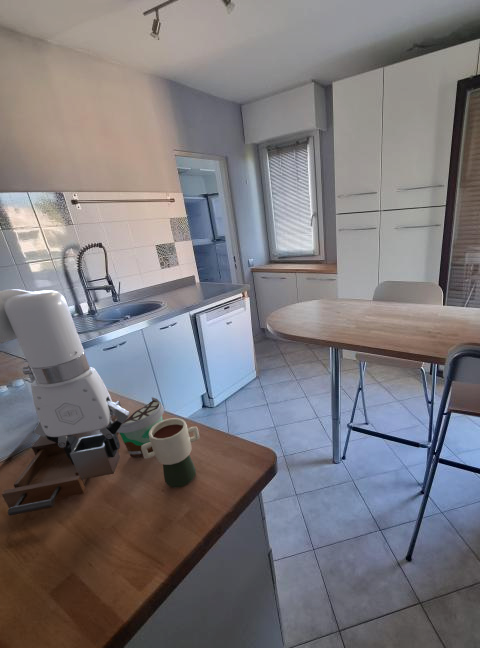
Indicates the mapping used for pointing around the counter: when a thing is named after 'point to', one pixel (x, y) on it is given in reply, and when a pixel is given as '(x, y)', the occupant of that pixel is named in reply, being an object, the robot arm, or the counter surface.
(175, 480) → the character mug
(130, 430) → the food container
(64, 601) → the counter surface
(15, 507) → the drawer
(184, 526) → the counter surface
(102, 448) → the grey open bin
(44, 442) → the cabinet
